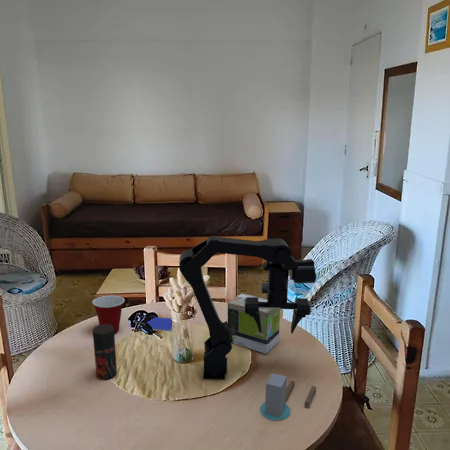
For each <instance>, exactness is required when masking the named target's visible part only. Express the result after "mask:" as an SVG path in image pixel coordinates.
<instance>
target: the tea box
mask: <svg viewBox="0 0 450 450" xmlns="http://www.w3.org/2000/svg"><path fill="white" fill-rule="evenodd" d="M247 297H258V302H267V298H262V297H259V296H255V295H251V294H247V293H243V292H241V294H239V295H237V296H236V297H234V298H233V299H231V300H229V301H228V302H227V323H228V328H229V329H230V330H231V333H232V338H233V343H232V344H235V345H237V346H241V347H243V348H246V349H250V350H253V351H255V352H256V351H257V352H258V353H263V354H268V353H269V352H270V351H271V350H272V349H273V348H274V347H275V346H276V345H277V344H278V343H279V340H280V321H281V320H280V319H281V309H259V313H260V321H261V333H260V332H259V329H258V326H257V324H256V321H255V320H254V318H253V317H252V316H249V314H246V313H245V299H246V298H247Z"/></svg>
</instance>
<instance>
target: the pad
mask: <svg viewBox="0 0 450 450" xmlns="http://www.w3.org/2000/svg"><path fill="white" fill-rule="evenodd" d="M259 411H260V414H261V415H262V416H263V417H265V418H266V419H268V420H271V421H283V420H285V419H287V418H288V417H290V415H291V412H292V411H291V408H290V406H289V405H288V404H287V403H285V408H284V410H283V412H282V414H281V416H280V418H279V417H276V416H272V415H269V414H265V401H264V402H263V403H262V404H261V405H260V408H259Z"/></svg>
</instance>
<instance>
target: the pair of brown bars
mask: <svg viewBox="0 0 450 450" xmlns="http://www.w3.org/2000/svg"><path fill="white" fill-rule="evenodd" d="M295 382H296V381H295V380H291V379H290V380H289V383H288V385H286V403H288V399H289V398H290V396H291V393H292V391H293V390H294V388H295V386H296V385H295ZM316 392H317V386H315V385H311V387H310V390H309V391H308V394H307V396H306V399H305V401H304V408H306V409H310V407H311V404H312V402H313V399H314V398H315V397H314V396H315V394H316Z"/></svg>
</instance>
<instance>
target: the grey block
mask: <svg viewBox="0 0 450 450" xmlns="http://www.w3.org/2000/svg"><path fill="white" fill-rule="evenodd" d="M287 379H288V377H287V376H285V375H280V374H276V373H271V375H270V376H269V378H268V380H267V382H266V384H265V401H264V402H265V414H269V415H272V416H276V417H279V418H280V416H281V414H282V412H283V410H284V408H285V404H287V402H286V388H287V382H288V381H287Z"/></svg>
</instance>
